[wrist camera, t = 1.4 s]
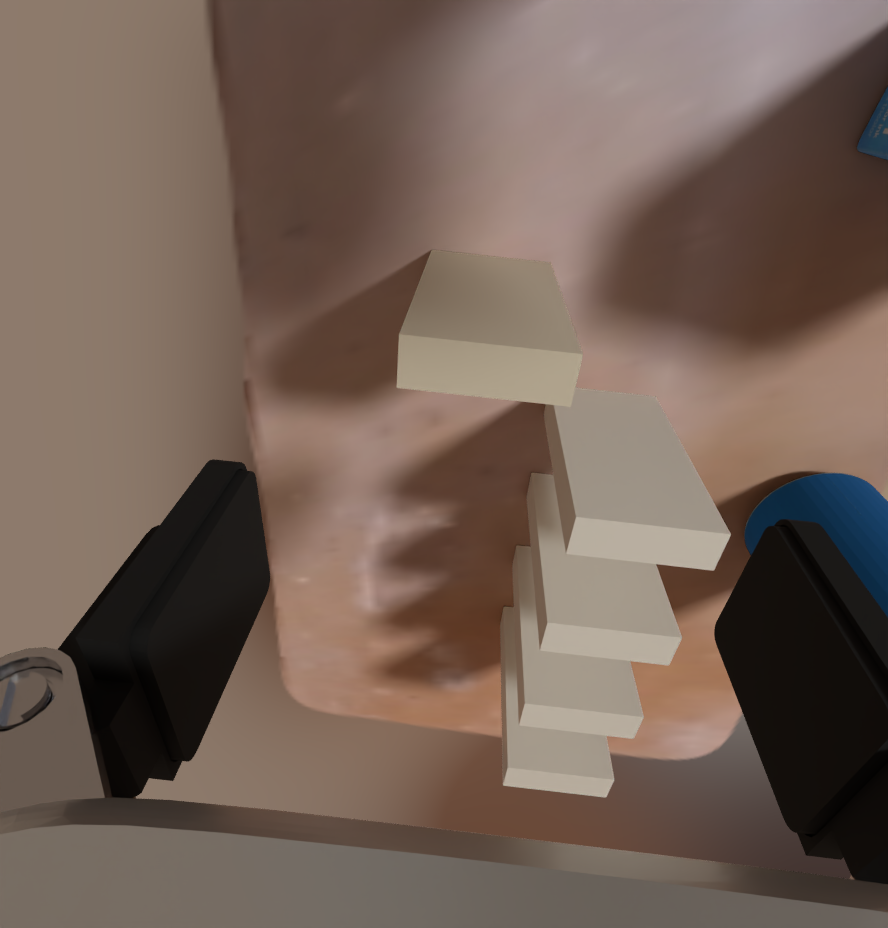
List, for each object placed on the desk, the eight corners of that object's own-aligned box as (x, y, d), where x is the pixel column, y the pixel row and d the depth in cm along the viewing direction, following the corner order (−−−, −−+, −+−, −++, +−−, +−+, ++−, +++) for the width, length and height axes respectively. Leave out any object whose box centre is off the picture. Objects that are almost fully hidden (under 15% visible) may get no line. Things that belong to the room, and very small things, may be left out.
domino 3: (531, 472, 29) (547, 622, 21) (627, 483, 29) (682, 638, 21) (526, 497, 30) (539, 650, 22) (619, 507, 30) (668, 665, 22)
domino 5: (503, 606, 35) (507, 767, 26) (584, 615, 35) (614, 779, 26) (499, 623, 36) (502, 785, 27) (579, 632, 36) (605, 797, 27)
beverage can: (713, 539, 31) (820, 752, 21) (794, 446, 27) (969, 647, 17) (812, 575, 32) (961, 796, 22) (903, 490, 28) (1129, 705, 18)
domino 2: (549, 384, 27) (576, 516, 18) (655, 396, 27) (731, 534, 18) (543, 414, 28) (566, 553, 19) (646, 426, 27) (713, 570, 19)
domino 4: (516, 544, 32) (524, 703, 24) (604, 554, 32) (643, 717, 24) (512, 565, 33) (518, 725, 25) (597, 575, 33) (633, 738, 25)
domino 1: (431, 249, 24) (398, 334, 15) (550, 262, 24) (583, 354, 15) (428, 288, 25) (396, 387, 16) (543, 300, 24) (570, 407, 16)
